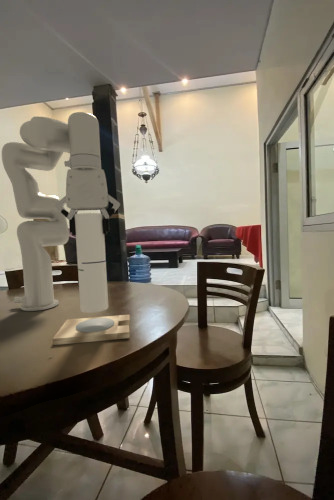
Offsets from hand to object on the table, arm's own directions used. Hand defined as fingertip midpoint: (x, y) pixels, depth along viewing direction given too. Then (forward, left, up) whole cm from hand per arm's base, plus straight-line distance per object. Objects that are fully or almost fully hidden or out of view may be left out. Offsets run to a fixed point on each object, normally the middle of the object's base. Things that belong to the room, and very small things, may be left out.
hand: (90, 234), depth 68 cm
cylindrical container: (0, 0, -20) cm, 20 cm away
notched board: (0, 0, -26) cm, 26 cm away
